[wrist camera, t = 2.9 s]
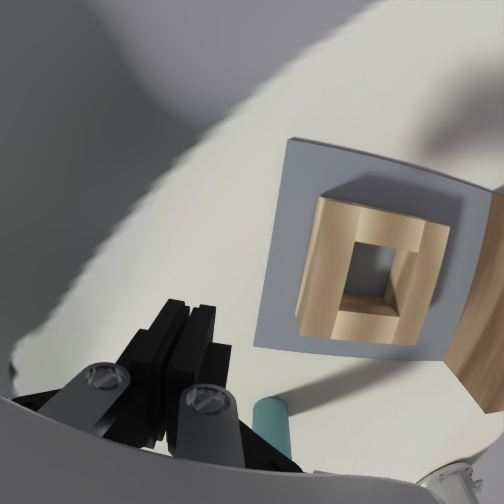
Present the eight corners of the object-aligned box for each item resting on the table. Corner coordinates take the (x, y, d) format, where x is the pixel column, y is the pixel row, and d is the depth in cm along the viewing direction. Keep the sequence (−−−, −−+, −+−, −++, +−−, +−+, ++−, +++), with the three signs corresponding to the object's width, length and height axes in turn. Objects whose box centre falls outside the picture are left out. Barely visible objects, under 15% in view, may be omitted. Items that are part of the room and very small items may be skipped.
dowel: (290, 399, 31) (301, 512, 17) (283, 423, 32) (289, 531, 18) (256, 395, 31) (251, 510, 17) (250, 419, 32) (244, 528, 18)
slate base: (507, 199, 25) (510, 200, 24) (460, 358, 29) (462, 360, 29) (287, 140, 25) (287, 139, 24) (253, 343, 29) (253, 346, 29)
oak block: (426, 218, 25) (450, 226, 21) (398, 324, 27) (415, 345, 24) (318, 195, 25) (328, 200, 21) (295, 313, 27) (299, 335, 23)
